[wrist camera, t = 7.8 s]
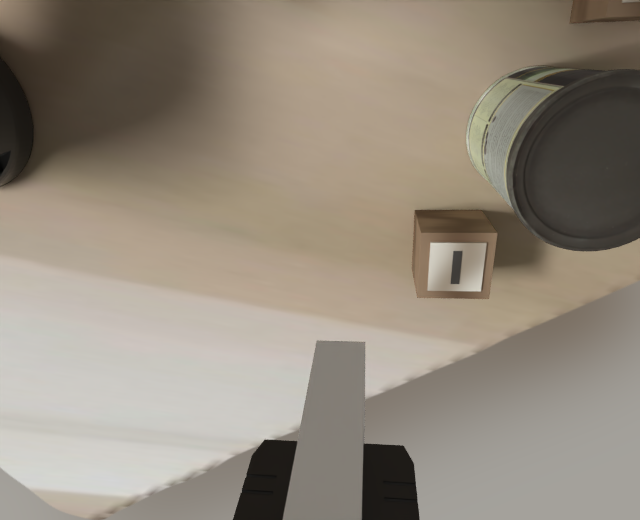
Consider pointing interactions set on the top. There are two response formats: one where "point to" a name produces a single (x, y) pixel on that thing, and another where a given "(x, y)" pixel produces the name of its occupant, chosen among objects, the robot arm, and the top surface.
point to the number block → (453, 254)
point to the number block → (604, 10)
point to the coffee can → (563, 152)
